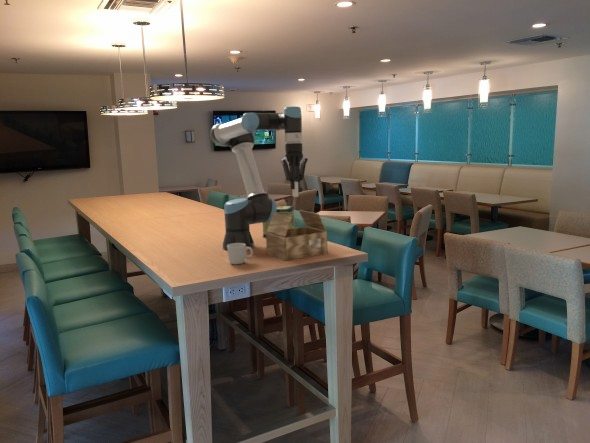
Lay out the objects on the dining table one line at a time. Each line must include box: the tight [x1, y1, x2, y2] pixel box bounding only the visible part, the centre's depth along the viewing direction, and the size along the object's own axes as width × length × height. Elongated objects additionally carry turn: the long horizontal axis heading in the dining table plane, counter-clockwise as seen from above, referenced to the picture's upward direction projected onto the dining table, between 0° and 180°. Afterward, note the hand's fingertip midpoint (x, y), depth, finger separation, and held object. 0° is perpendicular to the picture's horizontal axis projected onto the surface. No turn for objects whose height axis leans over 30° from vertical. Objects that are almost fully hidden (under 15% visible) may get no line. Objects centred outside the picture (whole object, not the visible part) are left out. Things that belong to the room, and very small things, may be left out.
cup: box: [226, 243, 254, 265], centre depth 203 cm, size 11×8×8 cm
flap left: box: [267, 213, 292, 237], centre depth 211 cm, size 1×16×9 cm, turn 31°
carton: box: [265, 226, 328, 262], centre depth 217 cm, size 22×18×10 cm
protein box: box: [262, 205, 295, 238], centre depth 259 cm, size 10×16×16 cm
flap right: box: [298, 209, 327, 232], centre depth 219 cm, size 1×16×9 cm, turn 32°
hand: (295, 196), depth 213 cm, fingers closed
